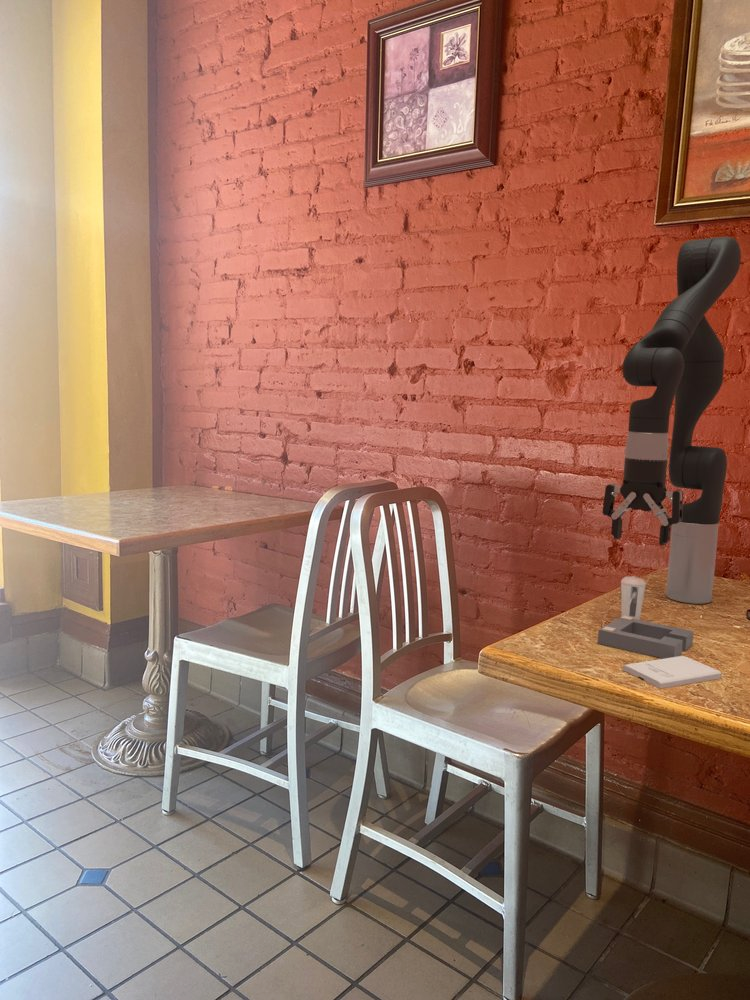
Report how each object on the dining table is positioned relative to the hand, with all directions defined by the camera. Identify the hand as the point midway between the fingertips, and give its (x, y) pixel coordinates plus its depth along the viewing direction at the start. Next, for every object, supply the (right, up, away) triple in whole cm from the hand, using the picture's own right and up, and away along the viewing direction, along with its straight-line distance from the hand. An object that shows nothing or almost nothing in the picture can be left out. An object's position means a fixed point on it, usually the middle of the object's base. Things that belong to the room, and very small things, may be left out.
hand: (639, 541), depth 142 cm
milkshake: (-1, -16, +2) cm, 16 cm away
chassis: (-3, -18, -10) cm, 20 cm away
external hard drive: (-4, -20, -24) cm, 32 cm away
